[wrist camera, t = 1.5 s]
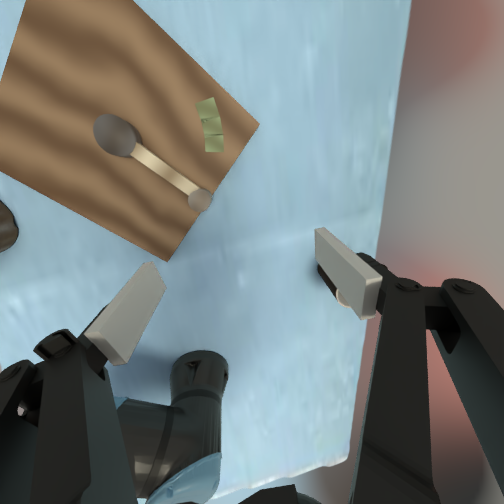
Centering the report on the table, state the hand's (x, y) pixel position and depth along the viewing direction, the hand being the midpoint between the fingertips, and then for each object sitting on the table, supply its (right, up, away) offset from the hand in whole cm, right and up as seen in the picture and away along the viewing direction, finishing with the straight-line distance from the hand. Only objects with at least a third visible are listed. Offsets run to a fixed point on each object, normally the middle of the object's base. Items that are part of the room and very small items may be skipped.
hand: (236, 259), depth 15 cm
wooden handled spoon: (-13, +14, +15) cm, 25 cm away
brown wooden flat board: (-18, +19, +15) cm, 30 cm away
